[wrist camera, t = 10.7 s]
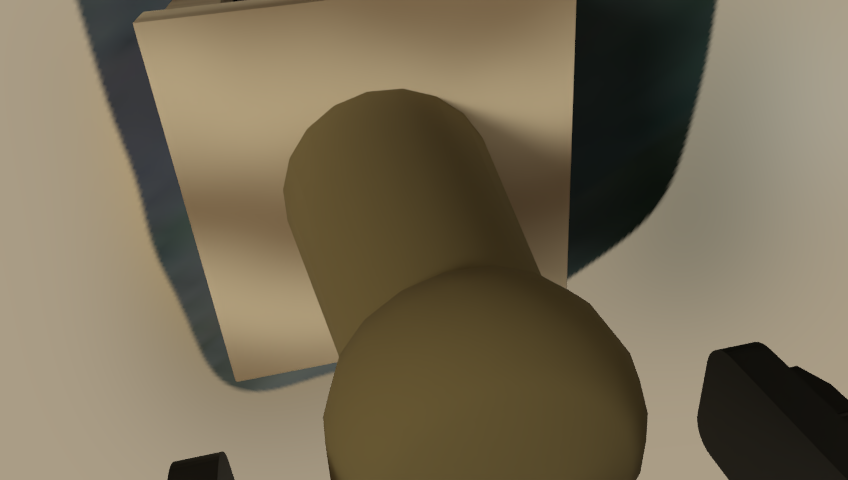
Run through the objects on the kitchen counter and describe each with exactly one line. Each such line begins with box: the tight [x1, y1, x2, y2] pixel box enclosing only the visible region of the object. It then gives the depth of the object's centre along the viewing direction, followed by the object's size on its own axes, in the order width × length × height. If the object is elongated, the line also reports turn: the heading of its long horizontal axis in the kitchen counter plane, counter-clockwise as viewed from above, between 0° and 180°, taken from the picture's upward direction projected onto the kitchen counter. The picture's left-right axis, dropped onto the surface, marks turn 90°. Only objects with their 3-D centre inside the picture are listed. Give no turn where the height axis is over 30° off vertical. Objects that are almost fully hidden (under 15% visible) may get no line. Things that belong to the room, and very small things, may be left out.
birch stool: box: [133, 0, 576, 382], centre depth 22 cm, size 11×11×8 cm
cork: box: [283, 89, 648, 480], centre depth 14 cm, size 6×6×11 cm
